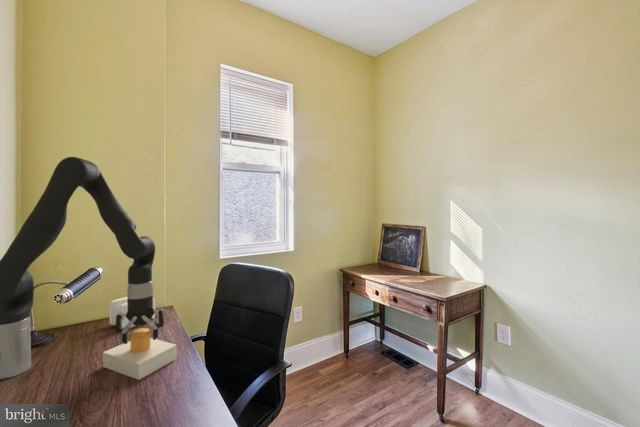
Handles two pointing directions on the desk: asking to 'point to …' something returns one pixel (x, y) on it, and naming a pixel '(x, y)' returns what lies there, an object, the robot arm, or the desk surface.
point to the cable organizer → (121, 306)
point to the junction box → (139, 358)
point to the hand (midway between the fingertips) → (140, 341)
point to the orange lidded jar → (140, 340)
